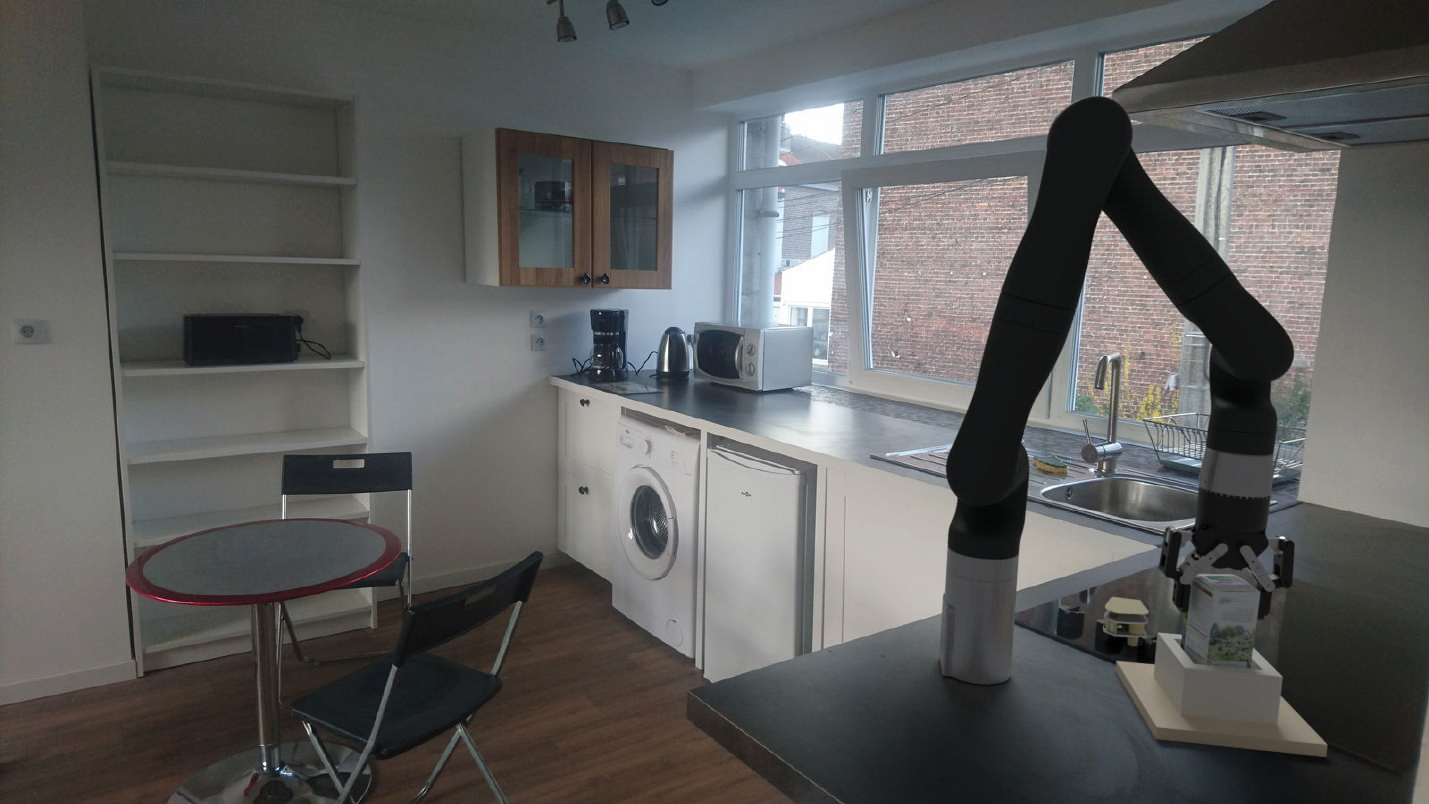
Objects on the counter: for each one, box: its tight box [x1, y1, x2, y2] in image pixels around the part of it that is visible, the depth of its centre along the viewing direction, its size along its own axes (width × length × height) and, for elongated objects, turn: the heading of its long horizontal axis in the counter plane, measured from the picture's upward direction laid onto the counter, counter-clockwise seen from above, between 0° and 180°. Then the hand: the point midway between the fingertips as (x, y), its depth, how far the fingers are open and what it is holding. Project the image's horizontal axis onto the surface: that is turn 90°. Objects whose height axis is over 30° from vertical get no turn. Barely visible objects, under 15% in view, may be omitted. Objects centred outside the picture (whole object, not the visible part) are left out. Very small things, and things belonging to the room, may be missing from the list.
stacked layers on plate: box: [1102, 596, 1149, 647], centre depth 130 cm, size 10×9×6 cm
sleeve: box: [1115, 632, 1329, 758], centre depth 108 cm, size 18×18×8 cm
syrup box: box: [1181, 573, 1260, 669], centre depth 107 cm, size 6×6×14 cm
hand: (1219, 614), depth 107 cm, fingers open, 8 cm apart
